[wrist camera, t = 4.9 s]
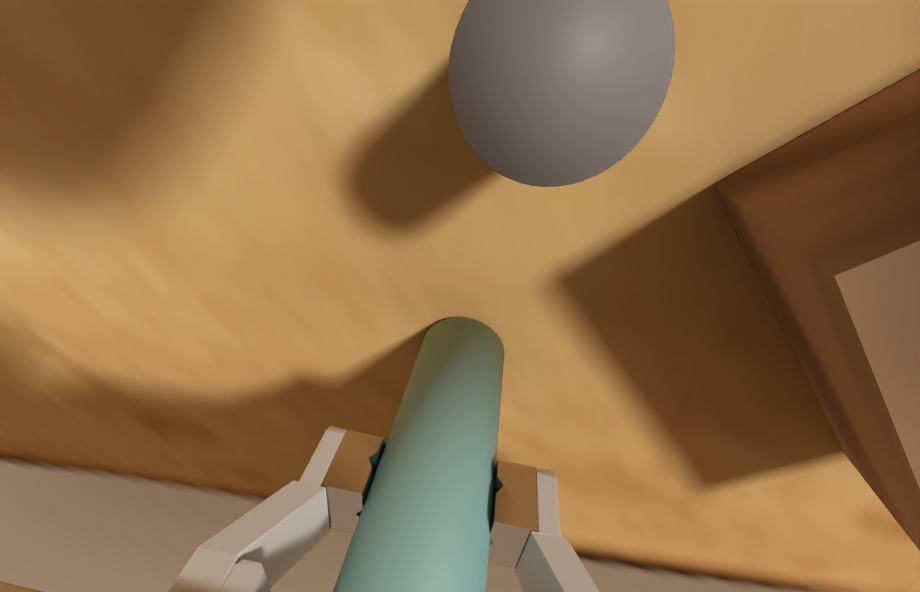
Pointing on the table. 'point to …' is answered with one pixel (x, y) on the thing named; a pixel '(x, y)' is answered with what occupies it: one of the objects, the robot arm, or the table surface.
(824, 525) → the table surface
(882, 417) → the walnut block
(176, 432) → the table surface
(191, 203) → the table surface
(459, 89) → the charcoal dowel
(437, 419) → the teal dowel
